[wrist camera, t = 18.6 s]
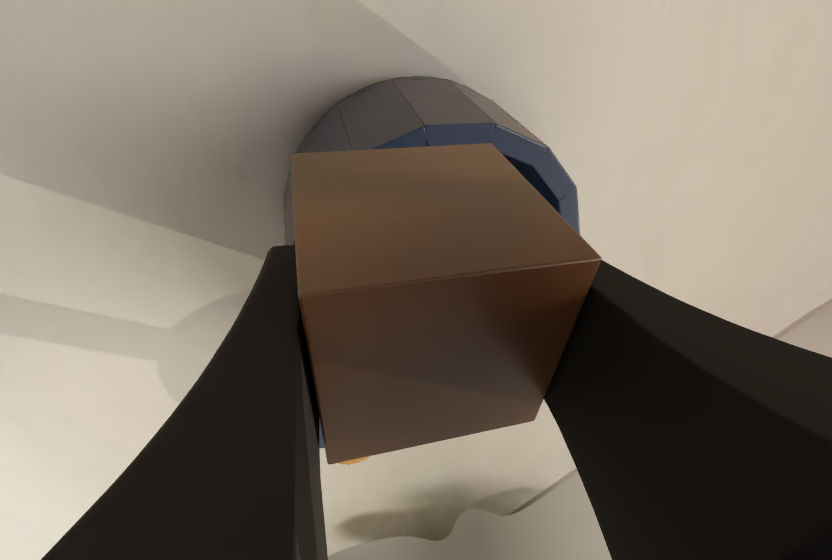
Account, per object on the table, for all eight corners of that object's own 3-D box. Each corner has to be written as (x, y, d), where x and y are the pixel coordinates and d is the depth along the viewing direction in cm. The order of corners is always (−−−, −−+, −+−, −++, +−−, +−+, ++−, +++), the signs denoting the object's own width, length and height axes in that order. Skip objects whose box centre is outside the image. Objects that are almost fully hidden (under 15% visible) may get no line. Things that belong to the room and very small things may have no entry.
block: (312, 309, 11) (328, 466, 8) (289, 152, 8) (298, 295, 5) (466, 288, 12) (535, 421, 9) (491, 142, 9) (603, 257, 6)
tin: (302, 305, 23) (307, 386, 19) (265, 77, 16) (262, 131, 12) (498, 280, 26) (539, 347, 22) (546, 75, 18) (623, 118, 14)
